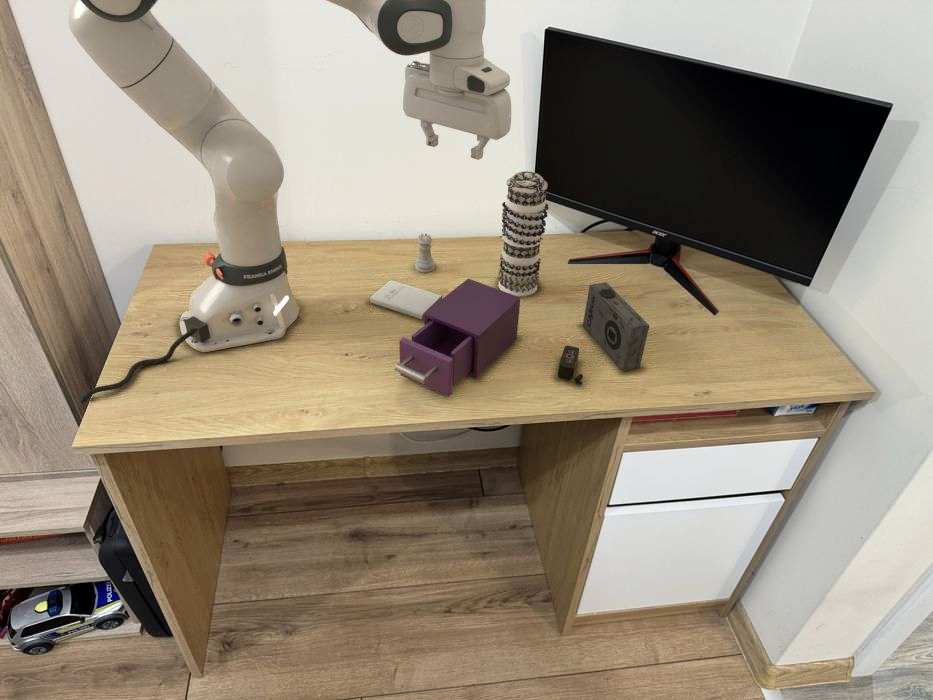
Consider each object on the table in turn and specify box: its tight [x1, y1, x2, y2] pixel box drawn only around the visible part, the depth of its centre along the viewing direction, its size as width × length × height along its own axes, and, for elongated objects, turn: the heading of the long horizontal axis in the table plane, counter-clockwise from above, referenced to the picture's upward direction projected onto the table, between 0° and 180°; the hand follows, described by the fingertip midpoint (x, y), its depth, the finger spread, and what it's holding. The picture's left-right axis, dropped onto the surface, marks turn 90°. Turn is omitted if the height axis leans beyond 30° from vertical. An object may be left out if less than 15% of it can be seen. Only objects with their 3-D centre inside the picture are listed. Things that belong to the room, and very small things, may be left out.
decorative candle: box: [498, 171, 549, 298], centre depth 143 cm, size 9×9×25 cm
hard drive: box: [369, 279, 443, 321], centre depth 144 cm, size 2×8×12 cm
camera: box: [582, 281, 650, 372], centre depth 132 cm, size 16×4×10 cm, turn 21°
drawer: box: [394, 320, 475, 398], centre depth 123 cm, size 18×10×8 cm, turn 147°
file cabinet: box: [423, 277, 521, 379], centre depth 130 cm, size 15×12×10 cm
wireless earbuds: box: [557, 345, 584, 386], centre depth 127 cm, size 5×7×3 cm, turn 164°
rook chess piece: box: [414, 233, 436, 274], centre depth 153 cm, size 4×4×8 cm
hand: (454, 151), depth 123 cm, fingers open, 8 cm apart
